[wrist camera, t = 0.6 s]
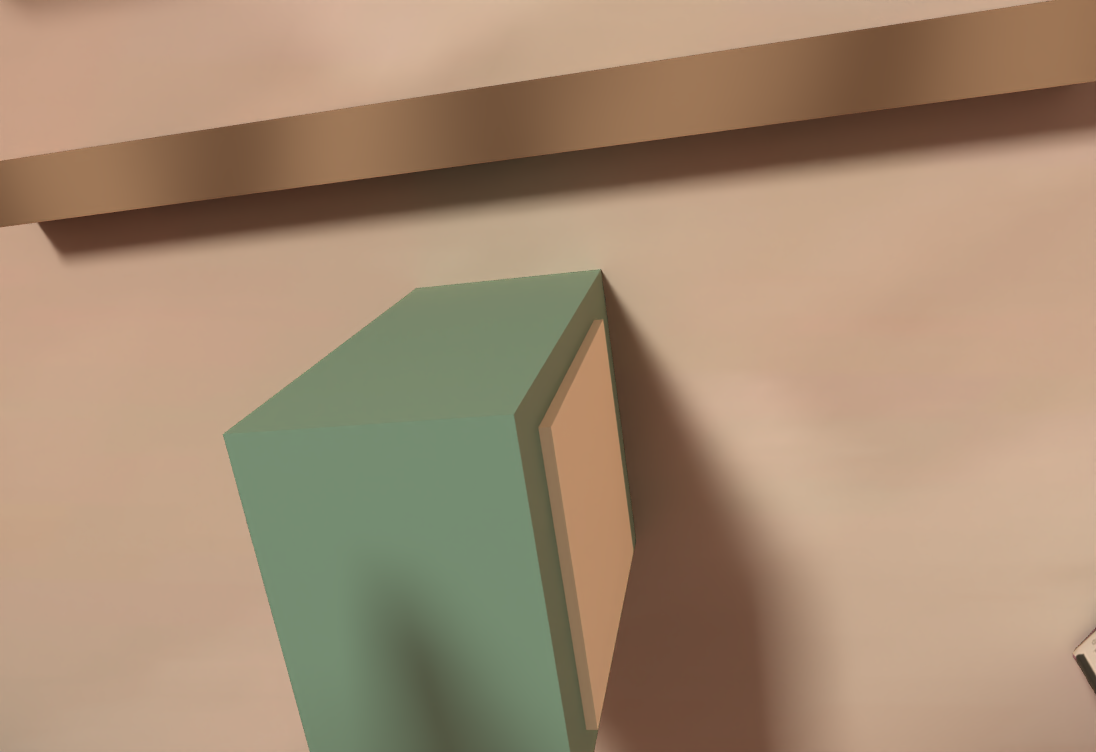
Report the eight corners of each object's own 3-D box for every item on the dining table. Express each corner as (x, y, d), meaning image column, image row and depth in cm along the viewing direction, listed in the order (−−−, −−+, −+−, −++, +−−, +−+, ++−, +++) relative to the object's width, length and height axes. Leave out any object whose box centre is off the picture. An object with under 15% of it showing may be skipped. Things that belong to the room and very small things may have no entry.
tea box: (466, 546, 24) (325, 808, 16) (416, 288, 22) (223, 434, 14) (643, 540, 23) (593, 816, 15) (609, 268, 21) (527, 413, 13)
